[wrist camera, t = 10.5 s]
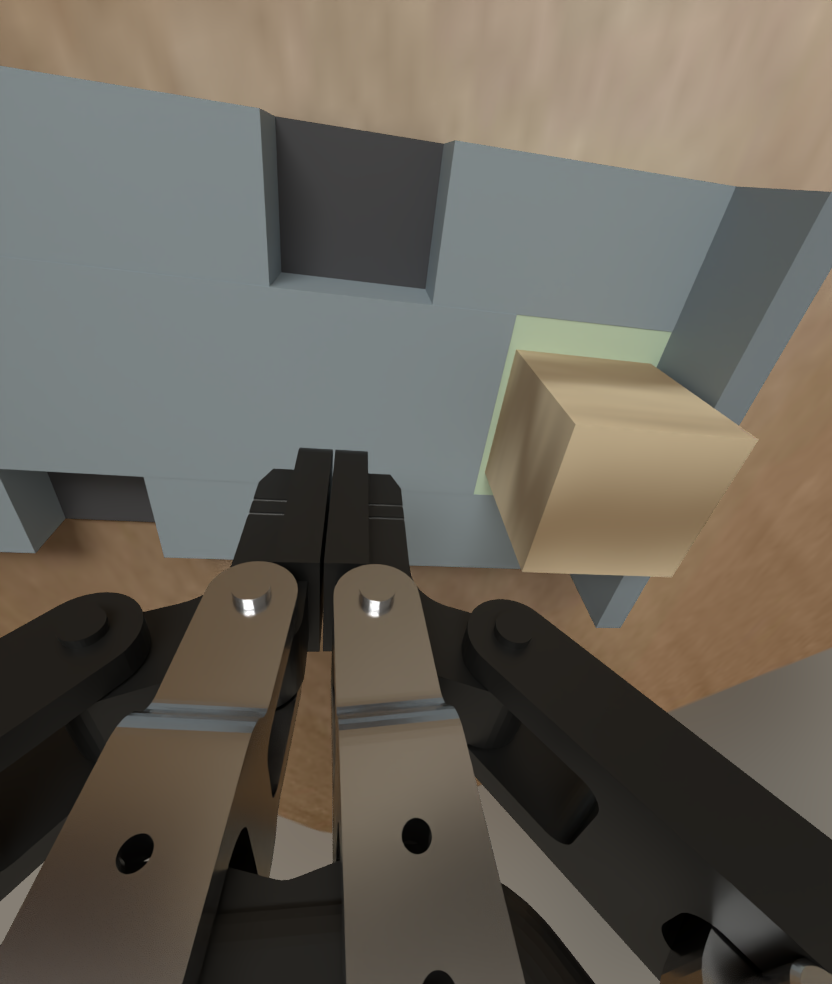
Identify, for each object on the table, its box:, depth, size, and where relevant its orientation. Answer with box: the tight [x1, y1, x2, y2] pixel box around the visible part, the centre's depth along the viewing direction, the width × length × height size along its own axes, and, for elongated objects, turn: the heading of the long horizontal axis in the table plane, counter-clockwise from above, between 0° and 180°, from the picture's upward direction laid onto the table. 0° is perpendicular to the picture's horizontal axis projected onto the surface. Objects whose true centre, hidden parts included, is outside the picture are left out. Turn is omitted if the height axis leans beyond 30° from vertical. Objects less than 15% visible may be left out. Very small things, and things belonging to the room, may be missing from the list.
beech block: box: [485, 349, 758, 577], centre depth 14 cm, size 4×4×5 cm
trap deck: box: [0, 66, 832, 628], centre depth 14 cm, size 14×28×5 cm, turn 83°
